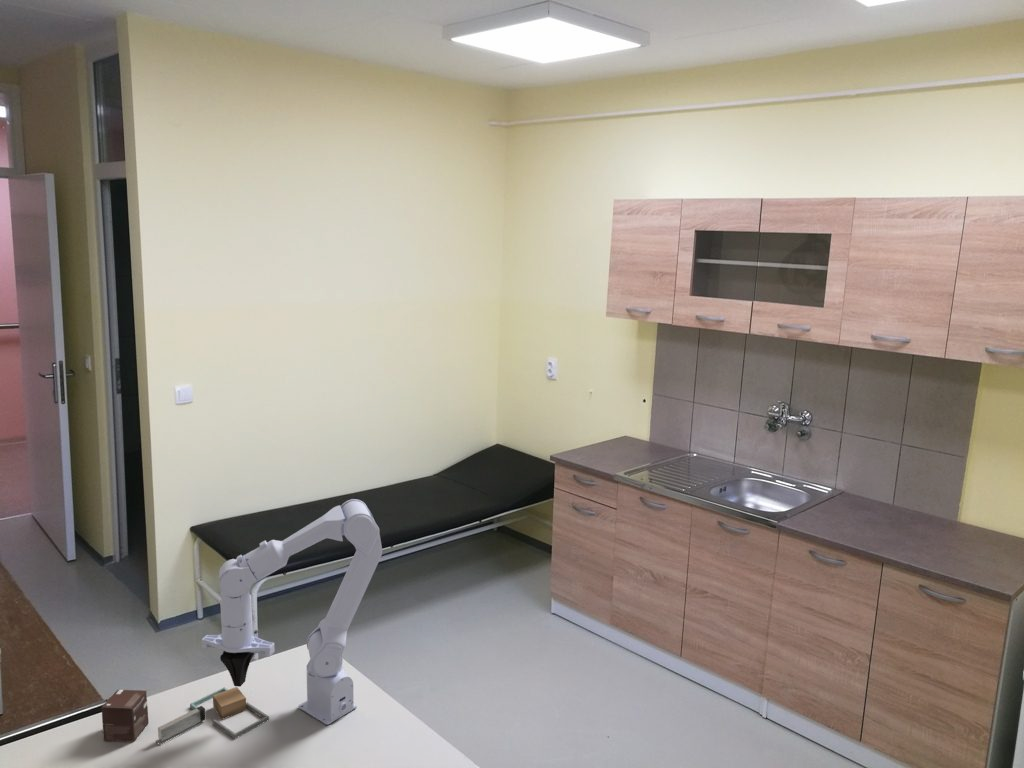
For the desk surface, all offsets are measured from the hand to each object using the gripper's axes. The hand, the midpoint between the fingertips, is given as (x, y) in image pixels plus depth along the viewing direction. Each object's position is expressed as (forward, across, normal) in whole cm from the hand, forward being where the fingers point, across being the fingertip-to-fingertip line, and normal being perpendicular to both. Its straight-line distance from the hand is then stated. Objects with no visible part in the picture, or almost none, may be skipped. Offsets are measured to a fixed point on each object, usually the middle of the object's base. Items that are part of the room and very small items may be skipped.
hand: (239, 683), depth 151 cm
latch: (+8, +10, +5) cm, 14 cm away
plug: (+9, +4, -3) cm, 10 cm away
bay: (+8, +9, -4) cm, 13 cm away
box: (+8, +20, +8) cm, 23 cm away
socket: (+8, +4, +4) cm, 10 cm away
